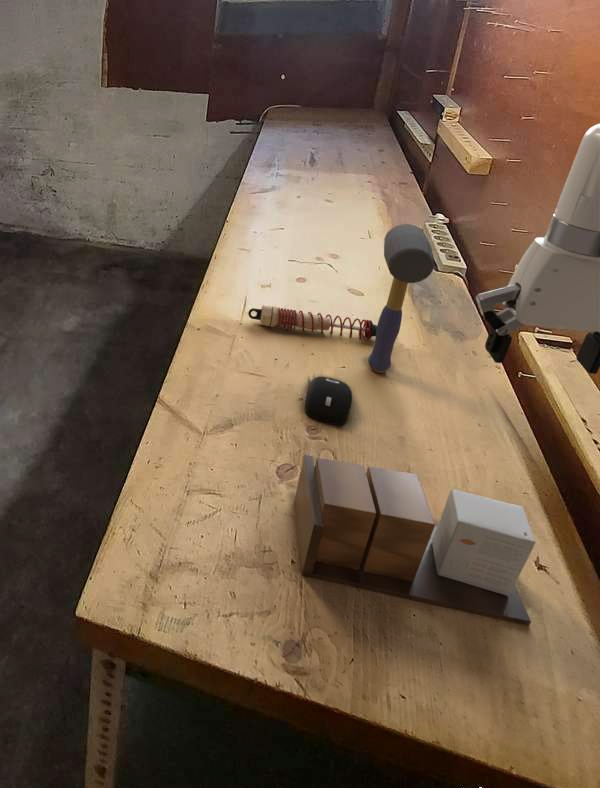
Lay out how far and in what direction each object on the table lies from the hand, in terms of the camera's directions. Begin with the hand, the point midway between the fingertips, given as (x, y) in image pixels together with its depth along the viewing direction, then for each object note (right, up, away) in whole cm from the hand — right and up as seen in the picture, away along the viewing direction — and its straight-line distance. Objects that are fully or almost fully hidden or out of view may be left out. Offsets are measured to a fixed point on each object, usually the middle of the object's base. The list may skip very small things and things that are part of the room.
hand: (538, 361), depth 70 cm
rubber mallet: (+5, -10, +44) cm, 45 cm away
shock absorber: (-2, -4, +56) cm, 56 cm away
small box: (-5, -29, +5) cm, 29 cm away
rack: (-13, -28, +7) cm, 32 cm away
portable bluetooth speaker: (-10, -15, +35) cm, 39 cm away
